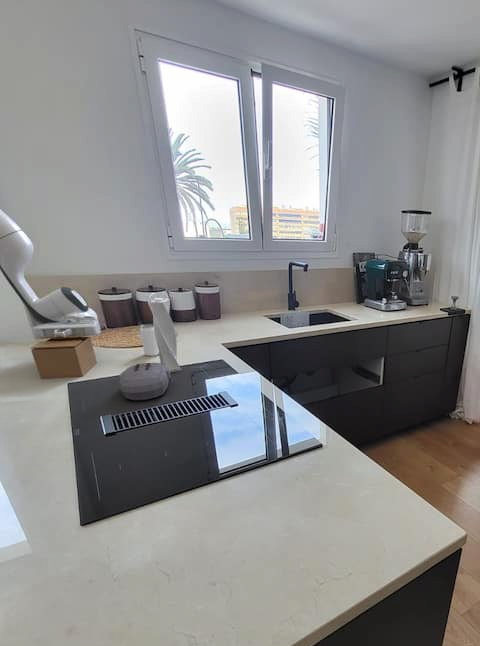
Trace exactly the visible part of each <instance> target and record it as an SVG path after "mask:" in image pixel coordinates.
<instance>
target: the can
mask: <svg viewBox="0 0 480 646" xmlns="http://www.w3.org/2000/svg"><path fill="white" fill-rule="evenodd" d="M139 333H140V338H141V343H142V348H143V354H144V355H145V356H147V357H156V356H159V353H158V352H159V350H158V347H157V343H156V339H155V334H154V326H153V323H147V324H141V325H140V329H139Z"/></svg>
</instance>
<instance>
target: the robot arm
mask: <svg viewBox="0 0 480 646" xmlns="http://www.w3.org/2000/svg"><path fill="white" fill-rule="evenodd" d="M34 252H35V248H34V244H33V242H32V240H31V238H29V237H28V235H27V234H26V233H25V232H24V231H23V230H22V228H21V227H20V226H19V225H18V224H17V223H16V222H15V221H14V220H13V219H12V218H11V217H10V216H9V215H8V214H7V213H5V212H4V211H3V210H2V209H0V272H1V273H2V275H3V277H4V278H5V279H6V281H7V282H8V284H9V285H10V287H11V288H12V289H13V291H14V292H15V293H16V295H17V296H18V298H19V299H20V301H21V302H22V304H24V306H25V308H26V310H27V312H28V313H29V315H30V317H31V318H32V319H33V321H34V322H35V323H37V325H35V326H33V327H32V328H31V329H32V334H33V336H34V337H35V338H40V337H53V336H55V338H56V337H66V336H80V335H86V336H85V337H89V336H88V335H90V336H99V334H101V326H100V322H99V316H98V314H97V313H96V311H94V310H93V309H92V308H91V307H89V303H88V302H87V300H86V299H85V298H84V296H83V295H82V294H81V293H80V292H78V291H77V290H75V289H73V288H70V287H68V286H61V287H59V288H58V289H55V290H54V291H52V292H50V293H49V294H47V295H45V296H43V297H41V298H39V297H38V296H37V295H36V293H35V292H34V290H33V289H32V287H31V286H30V284H29V283H28V282H27V280H26V279H25V271H26V268H27V266H28V264H29V263H30V262H31V260H32V259H33V256H34Z"/></svg>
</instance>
